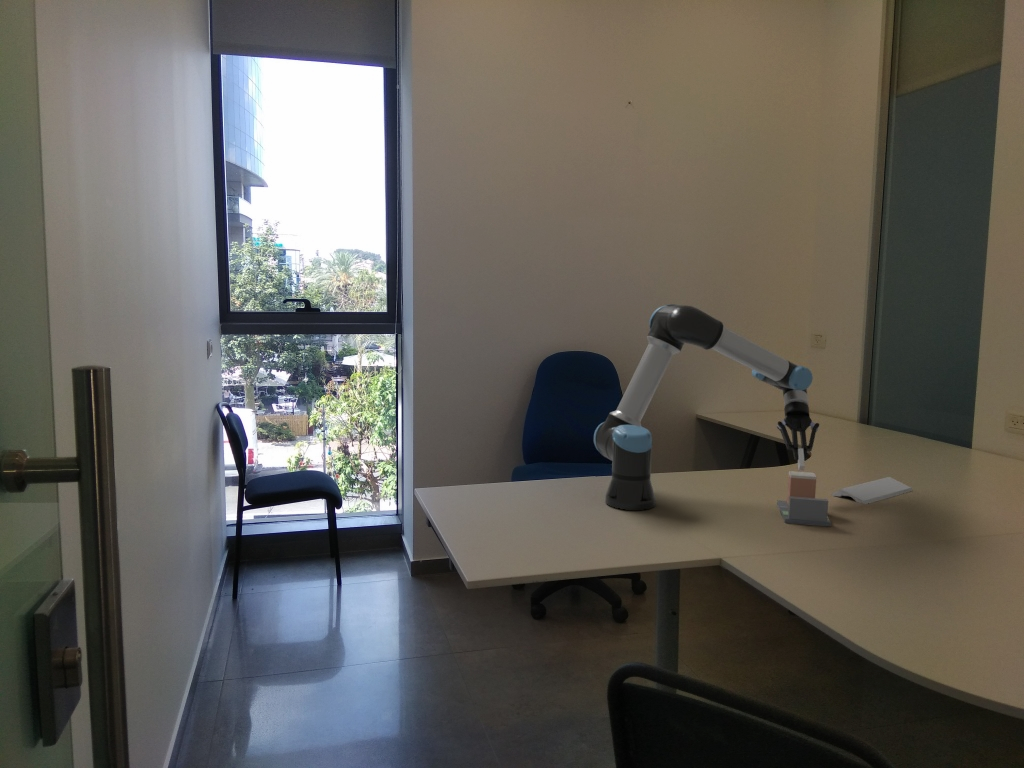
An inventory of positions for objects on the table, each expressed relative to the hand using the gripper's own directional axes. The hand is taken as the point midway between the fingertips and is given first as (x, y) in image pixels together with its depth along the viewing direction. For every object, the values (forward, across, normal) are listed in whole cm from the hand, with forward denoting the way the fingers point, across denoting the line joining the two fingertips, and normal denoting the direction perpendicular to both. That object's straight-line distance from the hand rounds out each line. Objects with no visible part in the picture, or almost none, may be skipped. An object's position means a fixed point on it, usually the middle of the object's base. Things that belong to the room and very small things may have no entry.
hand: (801, 468), depth 224 cm
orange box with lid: (+13, +1, 0) cm, 13 cm away
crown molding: (-4, -25, -21) cm, 33 cm away
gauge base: (+18, +1, +2) cm, 18 cm away
